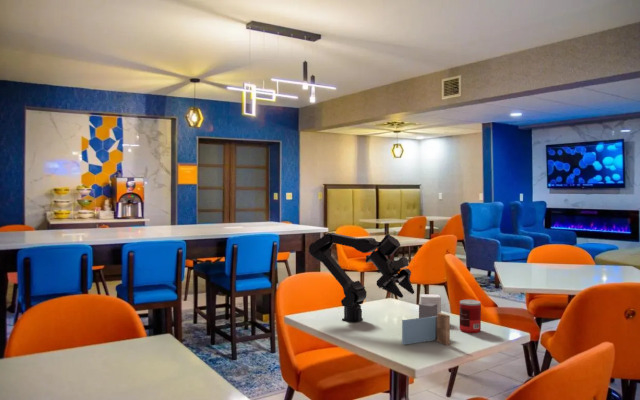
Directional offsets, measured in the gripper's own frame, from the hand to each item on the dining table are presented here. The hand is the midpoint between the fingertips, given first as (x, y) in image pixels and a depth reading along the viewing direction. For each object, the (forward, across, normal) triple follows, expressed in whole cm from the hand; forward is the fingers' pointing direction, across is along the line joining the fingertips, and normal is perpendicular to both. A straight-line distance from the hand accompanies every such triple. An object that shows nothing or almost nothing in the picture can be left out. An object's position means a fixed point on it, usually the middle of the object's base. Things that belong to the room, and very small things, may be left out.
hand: (408, 295), depth 188 cm
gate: (+17, -12, +2) cm, 21 cm away
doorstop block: (+15, 0, +4) cm, 16 cm away
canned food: (+23, +14, -4) cm, 27 cm away
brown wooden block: (+22, -8, -3) cm, 23 cm away
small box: (+10, +18, +9) cm, 23 cm away
